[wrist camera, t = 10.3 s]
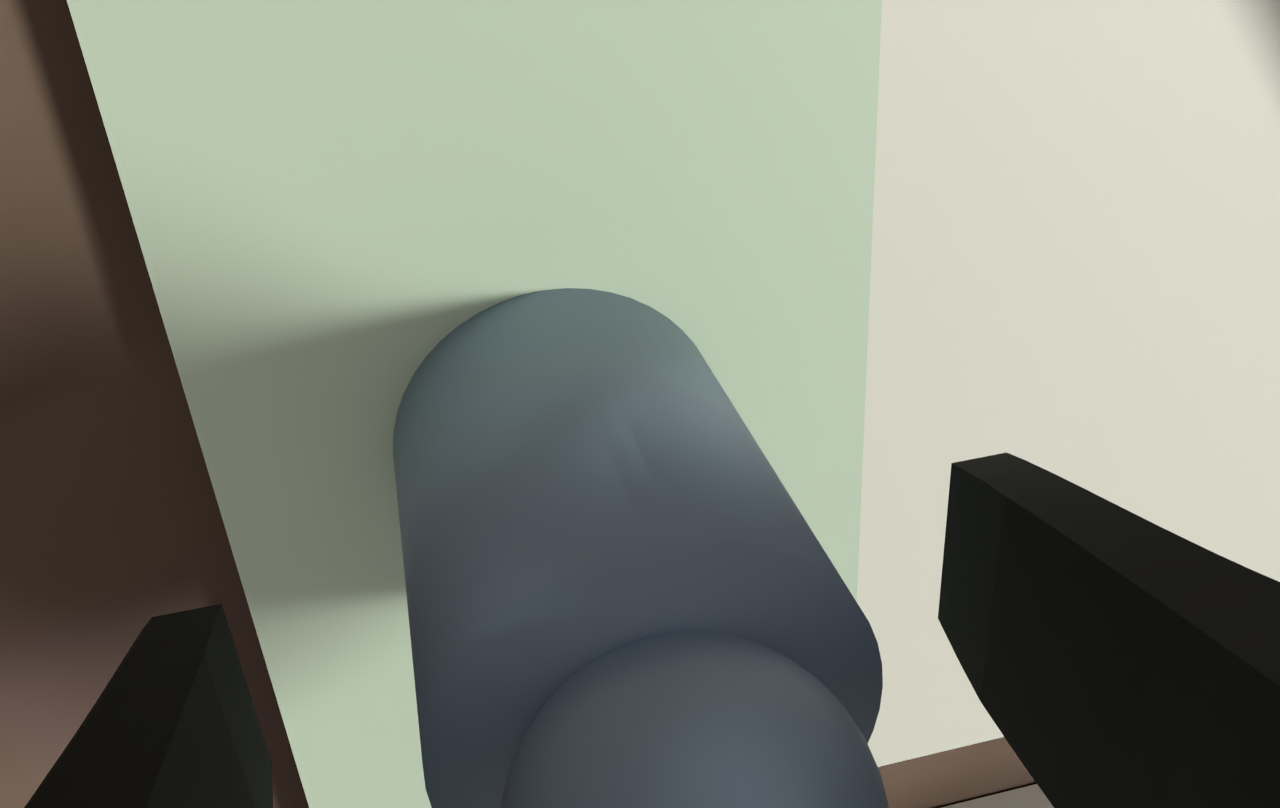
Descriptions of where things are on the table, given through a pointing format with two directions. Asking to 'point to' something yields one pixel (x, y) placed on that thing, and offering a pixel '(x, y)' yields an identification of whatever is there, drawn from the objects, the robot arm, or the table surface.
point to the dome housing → (1010, 799)
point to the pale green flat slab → (707, 276)
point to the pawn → (616, 579)
